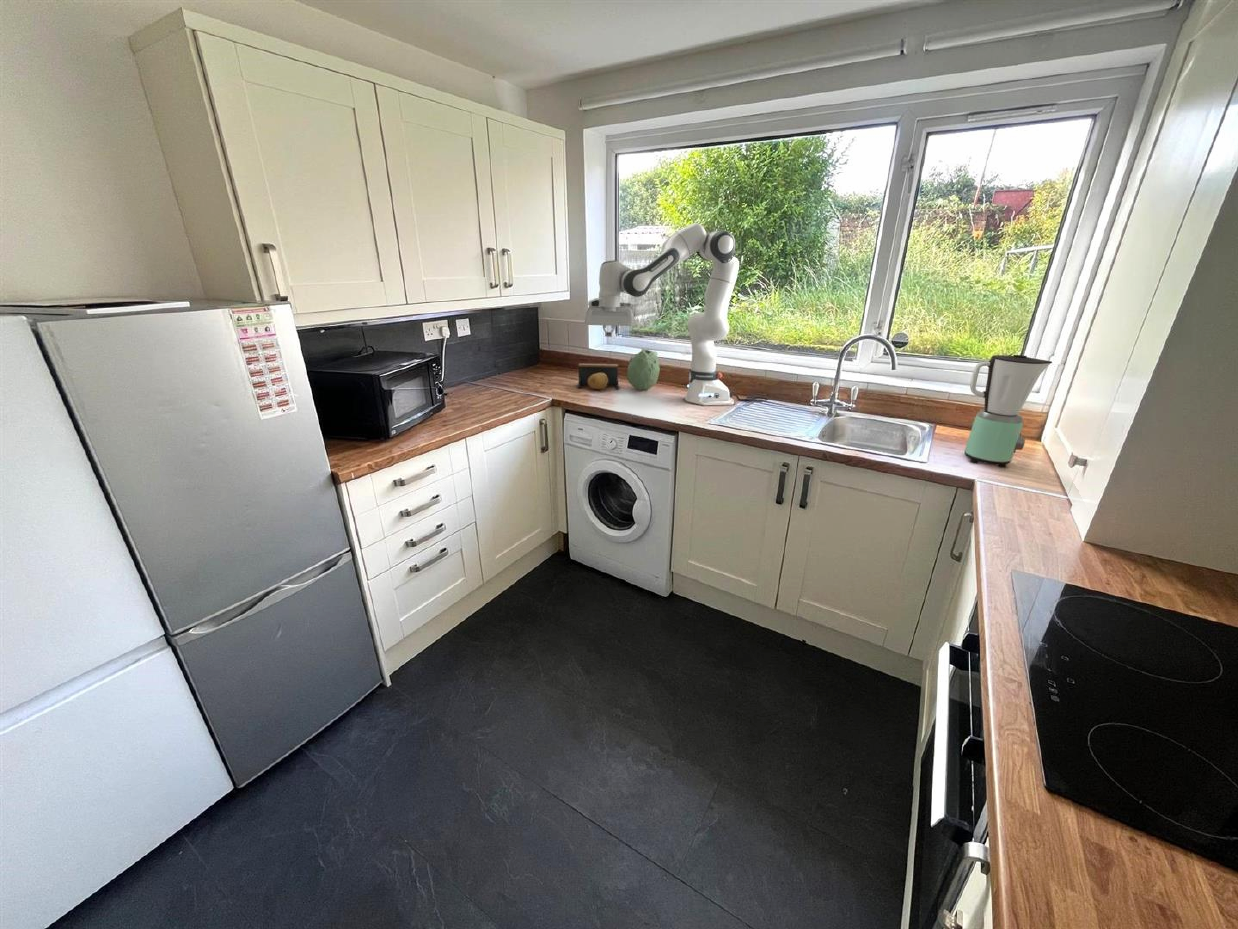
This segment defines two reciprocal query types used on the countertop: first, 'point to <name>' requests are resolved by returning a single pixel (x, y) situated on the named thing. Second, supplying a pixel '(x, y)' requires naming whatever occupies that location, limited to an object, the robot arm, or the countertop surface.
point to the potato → (598, 381)
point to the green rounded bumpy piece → (643, 370)
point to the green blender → (1002, 407)
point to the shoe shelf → (591, 369)
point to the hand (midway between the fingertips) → (608, 336)
